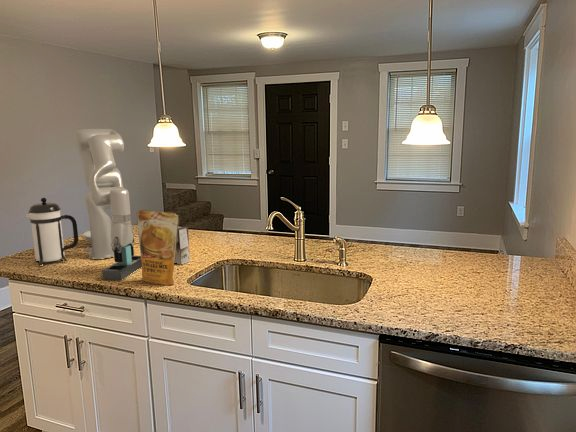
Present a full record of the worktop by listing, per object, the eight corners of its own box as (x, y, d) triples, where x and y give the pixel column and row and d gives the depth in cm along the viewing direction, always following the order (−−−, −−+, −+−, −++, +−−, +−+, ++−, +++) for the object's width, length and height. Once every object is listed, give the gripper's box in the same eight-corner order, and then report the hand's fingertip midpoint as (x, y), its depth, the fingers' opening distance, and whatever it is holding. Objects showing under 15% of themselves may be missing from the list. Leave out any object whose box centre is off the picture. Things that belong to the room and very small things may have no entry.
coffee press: (55, 267, 197) (48, 200, 192) (24, 266, 200) (16, 199, 195) (81, 257, 214) (74, 194, 208) (52, 255, 217) (44, 194, 211)
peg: (119, 273, 188) (116, 247, 186) (124, 270, 192) (121, 245, 190) (127, 273, 187) (125, 247, 185) (132, 270, 191) (130, 245, 189)
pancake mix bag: (147, 276, 183) (142, 208, 178) (184, 282, 175) (180, 211, 170) (135, 280, 177) (129, 211, 172) (172, 287, 169) (167, 214, 164)
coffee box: (191, 261, 203) (189, 227, 200) (181, 265, 197) (179, 229, 194) (175, 259, 207) (173, 225, 204) (165, 262, 202) (163, 228, 199)
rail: (102, 279, 179) (101, 269, 178) (129, 264, 200) (128, 255, 200) (121, 280, 178) (120, 270, 177) (146, 264, 199) (145, 255, 199)
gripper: (123, 214, 194) (126, 253, 197) (101, 222, 177) (105, 264, 180) (139, 215, 193) (142, 253, 196) (119, 223, 176) (122, 264, 179)
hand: (124, 258), depth 188 cm, fingers open, 9 cm apart
